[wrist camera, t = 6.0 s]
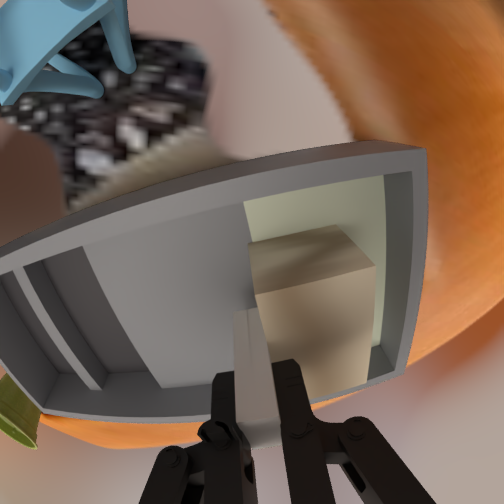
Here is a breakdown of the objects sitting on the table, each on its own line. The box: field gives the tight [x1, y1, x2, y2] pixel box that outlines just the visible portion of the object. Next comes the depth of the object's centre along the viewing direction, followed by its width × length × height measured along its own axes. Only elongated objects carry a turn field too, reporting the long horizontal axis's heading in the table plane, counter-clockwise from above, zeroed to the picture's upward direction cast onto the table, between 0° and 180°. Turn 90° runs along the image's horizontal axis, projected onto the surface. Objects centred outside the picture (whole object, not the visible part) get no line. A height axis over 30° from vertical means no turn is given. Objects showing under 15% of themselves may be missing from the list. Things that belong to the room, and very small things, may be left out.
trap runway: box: [0, 140, 428, 424], centre depth 17 cm, size 34×16×6 cm, turn 102°
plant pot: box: [0, 373, 41, 449], centre depth 20 cm, size 9×9×9 cm
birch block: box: [248, 224, 376, 400], centre depth 14 cm, size 5×8×5 cm, turn 12°
